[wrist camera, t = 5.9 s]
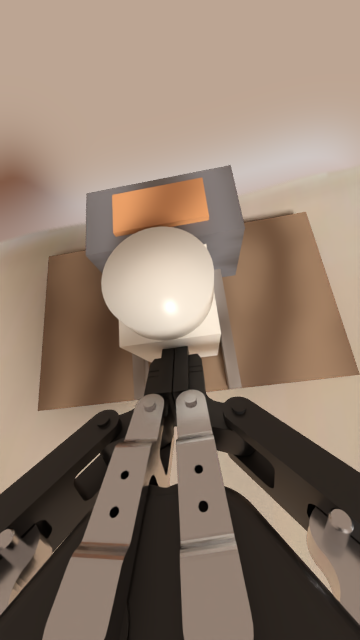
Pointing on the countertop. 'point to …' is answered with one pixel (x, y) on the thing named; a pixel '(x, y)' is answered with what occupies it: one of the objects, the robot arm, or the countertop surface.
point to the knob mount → (229, 288)
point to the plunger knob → (162, 293)
